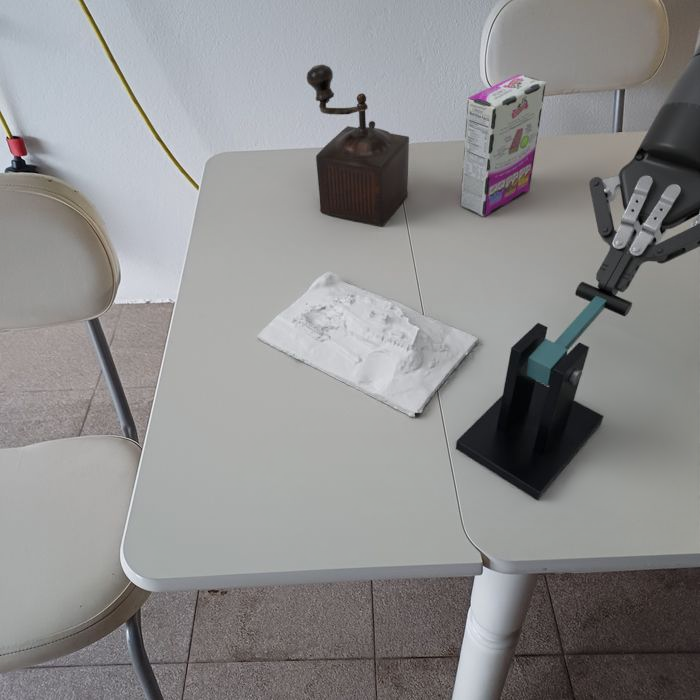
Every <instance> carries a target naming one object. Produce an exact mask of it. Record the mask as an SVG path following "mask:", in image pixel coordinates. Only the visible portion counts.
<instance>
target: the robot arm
mask: <svg viewBox="0 0 700 700" xmlns="http://www.w3.org/2000/svg"><path fill="white" fill-rule="evenodd" d="M588 185H589V190H590V195H591V201H592V206H593V213H594V217H595V222H596V226H597V232H598V234H599V236H600V237H601V239H602V241H603V242H604V243H606V245H608V246H609V250H608V252H607V254H606V256H605V257H604V259H603V261H602V263H601V265H600V267H599V269H598V270H597V272H596V274H595V275H596V276H595V279H596V281H597V282H598V283H597V288H599V289H601V290H604V291H606V292H608V293H611V294H613V295H616V296H617V294H618V293H619V292H620V293H624V292H626V290H628V289H629V286H630V285H631V284H632V281H633V280H634V277H635V276H636V274H637V272H638V271H639V269H640V267H641V266H642V264H644V263H647V262H654V263H655V262H656V263H658V264H663V265H664V264H666V263H669V262H670V261H672V260H674V259H676V258H678V257H680V256H682V255H685V254H687V253H689V252H691V251H693V250H696V249H698V248H700V43H698V45H697V47H696V49H695V51H694V52H693V55H692V57H691V58H690V60H689V62H688V63H687V64H686V66H685V68H684V69H683V70H682V72H681V73H680V74H679V76H678V77H677V79H676V80H675V82H674V83H673V85H672V87H671V89H670V91H669V92H668V94H667V96H666V97H665V100H664V101H663V103H662V105H661V107H660V108H659V110H658V112H657V113H656V115H655V118H654V120H653V121H652V123H651V125H650V126H649V128H648V131H647V132H646V134H645V136H644V138H643V140H642V141H641V143H640V145H639V147H638V149H637V150H636V152H635V154H634V156H633V158H631V160H630V161H629V162H628V163H627V164H625V165H624V166H622V168H621V169H620V171H619V173H618V174H616V175H614V176H610V177H608V178H604V179H602V178H601V177H599V176H595V177H592V178H591V179H590V180H589V183H588ZM619 190H620V196H621V202H622V207H623V210H624V213H623V215H622V217H621V221H620V225H619V227H618V229H617V230H616V229H615V225H614V219H613V215H612V210H611V205H610V204H611V202H614V201H615V199H616V197H617V192H618V191H619ZM695 217H696V218H695ZM693 218H694V219H693ZM691 219H693V220H692V222H691V227H689V228H688V229H686V230H683V231H681V232H679V233H677V234H674V235H673V236H671V237H668V238H667V239H664V240H663V241H661V240H662V239H663V237H664V236H665V234H666V233H667V231H668V230H671V229H674V228H676V227H679V226H680V225H682V224H684V223H686V222H688V221H689V220H691Z"/></svg>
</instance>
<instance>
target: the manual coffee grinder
mask: <svg viewBox="0 0 700 700" xmlns="http://www.w3.org/2000/svg"><path fill="white" fill-rule="evenodd" d="M333 74H334V72H333V70H332V68H331V66H329V65H326V64H317V65H314V66H312V68H310V69H309V70H308V72H307V73H306V81H307V84H308V85H309V86H311V87H312V89H314V91H315V101H317V102H319V105H318V107H319V111H320V112H321V114H325V115H339V116H340V115H342V116H343V115H351V114H355V113H357V112H358V122H359V123H358V124H359V125H358V126H357V127H355V126H349V125H347V126H346V127H345V128H343V129H342V130H341V131H340V132H339V133H338V134H337V135H336V136H334V137H333V138H332V139H331V140H330V141H329V142H327V144H325V146H324V147H322V148H321V150H320V151H319V152H318V153H317V154H316V155H315V162H316V173H317V182H318V183H317V184H318V193H319V206H320V209H319V211H320V213H322V214H323V215H326V216H329V217H332V218H338V219H341V220H346V221H349V222H350V221H351V222H355V223H360V224H365V225H366V224H367V225H371V226H378V227H383V226H384V225H385V224H386V223H388V221H390V219H392V217H393V216H394V215H395V213H396V212H397V211H398V209H400V207H401V206H402V204H403V203H404V202H405V201H406V199H407V198H408V193H409V190H408V181H409V156H410V155H409V152H410V151H409V149H410V137H409V136H407V135H403V134H397V133H396V134H395V133H391V132H389V131H387V130H385V129H381V128H377V127H376V122H375V120H371V121H369V122H368V126H367V122H366V119H367V118H366V111H367V110H368V109H369V108H368V104H367V103H366V101H367V96H366V95H365V93H363V92H362V93H358V95H357V96H356V102H357V104H356V106H351V107H327V104H328V103H329V102H330V100H331V99H332V98H334V97H335V93H334V92H333V89H332V88H331V83H332V81H333V78H334V75H333Z"/></svg>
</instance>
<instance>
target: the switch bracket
mask: <svg viewBox="0 0 700 700" xmlns="http://www.w3.org/2000/svg"><path fill="white" fill-rule="evenodd" d="M548 329H549V328H548V326H547V325H544V324H542V323H540V322H537V323H536V324H535V325H534V326H533V327H532V328H531V329H529V330H528V331H527V332H526V333H525V334H524V335H523V336H522V337H521V338H520V339H519V340H518V341H517V342H515V344H513V345H512V346H511V348H510V351H509V352H510V353H509V359H508V365H507V368H506V375H505V380H504V385H503V391H502V395H501V396H500V397H499V398H498V399H497V400H496V401H495V402H494V403H493V404H492V405H491V406H490V407H489V408H488V409H487V410H486V411H485V412H484V413H482V415H481V416H480V417H479V418H478V419H477V420H475V422H474V423H473V424H472V425H471V426H470V427H468V429H467V430H466V431H465V432H463V434H461V436H460V437H459V438H458V439H457V440H456V443H455V449H456V450H457V451H459V452H460V453H462V454H463V455H465V456H467V457H468V458H470V459H471V460H473V461H474V462H476V463H478V464H479V465H481V466H483V468H486V469H487V470H489V471H490V472H492V473H494V474H495V475H496V476H498V477H500V478H501V479H503V480H504V481H506V482H508V483H509V484H511V485H512V486H514V487H516V488H517V489H518V490H520V491H522V492H523V493H524V494H527V495H528V496H530V497H531V498H533V499H534V500H536V501H539V500H540V498H541V497H542V496H543V495H544V494H545V492H546V491H547V490H548V489H549V488H550V487H551V485H552V484H553V483H554V481H555V480H556V479H557V478H558V477H559V475H560V474H561V473H562V472H563V471H564V470H565V468H566V467H567V466H568V464H570V462H571V461H572V459H574V457H575V456H576V455H577V454H578V453H579V451H580V450H581V449H582V448H583V447H584V445H585V444H586V442H588V440H589V439H590V438H591V437H592V435H593V434H594V433H595V432H596V430H597V429H598V428H599V427H600V426H601V424H602V422H603V419H604V415H603V414H601V413H599V412H597V411H595V410H593V409H591V408H589V407H588V406H585V405H584V404H581V403H580V402H578V401H576V400H575V397H576V394H577V391H578V388H579V385H580V384H579V383H580V380H581V378H582V375H583V371H584V367H585V364H586V360H587V357H588V354H589V349H590V346H588V345H586V344H584V343H582V342H578V343H577V344H576V345H575V346H574V347H573V348H572V349H571V350H570V351H569V352H567V355H566V356H565V357H564V358H563V359H562V360H561V361H560V362H559V364H558V365H557V366H556V367H555V368H554V369H553V372H552V376H551V380H550V384H549V386H546V385H544V384H542V383H540V382H539V381H537V380H535V379H533V378H531V377H529V376H527V375H526V372H527V365H528V358H529V356H530V355H531V354H532V353H533V352H534V351H535V350H536V349H537V348H538V347H539V345H540V344H541V343H542V342H543V341H544V340H545V339H546V337H547V332H548Z"/></svg>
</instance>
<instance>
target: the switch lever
mask: <svg viewBox="0 0 700 700" xmlns="http://www.w3.org/2000/svg"><path fill="white" fill-rule="evenodd" d="M574 295H575V296H576V297H578V298H580V299H583V300H585V301H587V302H589V303H588V304H587V305H586V306H585V308H583V310H582V311H581V312H580V313H579V314H578V315H577V316H576V318H574V319H573V321H572V322H571V323H570V324H569V325H568V326H567V327H566V328H565V330H564V331H563V332H562V333H561V334H560V335H559V336H558V337H557V339H556V340H555V341H552V340H550V339H548V338H545V340H544V341H543V342H542V343H541V344H540V345H539V347H538V348H537V349H536V350H535V351H534V352H533V353H532V354H531V355H530V356H529V358H528V365H527V372H526V375H527V376H529V377H531V378H533V379H535V380H536V381H538V382H540V383H542V384H544V385H546V386H548V387H549V384H550V380H551V376H552V372H553V369H554V368H555V367H556V366H557V365H558V364H559V362H560V361H561V360H562V359H563V358H564V357H565V356H566V355H567V354H568V353H569V352H568V351H569V350H570V348H571V347H572V346H573V345H574V344H575V343H576V342H577V341H578V340H579V338H580V337H581V336H582V335H583V334H584V333H585V331H586V330H587V329H588V328H589V327H590V326H591V324H593V322H594V321H595V320H596V319H597V318H598V316H599V315H600V314H601V313H602V312H603V311H604V310H608V311H611V312H612V313H615V314H617V315H619V316H622V317H626V316H628V314H629V313H630V311H631V309H632V307H633V302H632V301H630V300H627V299H625V298H623V297H620V296H618V295H617V294H616V295H613V294H611V293H608V292H606V291H604V290H601V289H599V288H598V287H597V286H594V285H592V284H589V283H587V282H584V281H581V282H580V283H579V284H578V285H577V287H576V289H575V294H574Z"/></svg>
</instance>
